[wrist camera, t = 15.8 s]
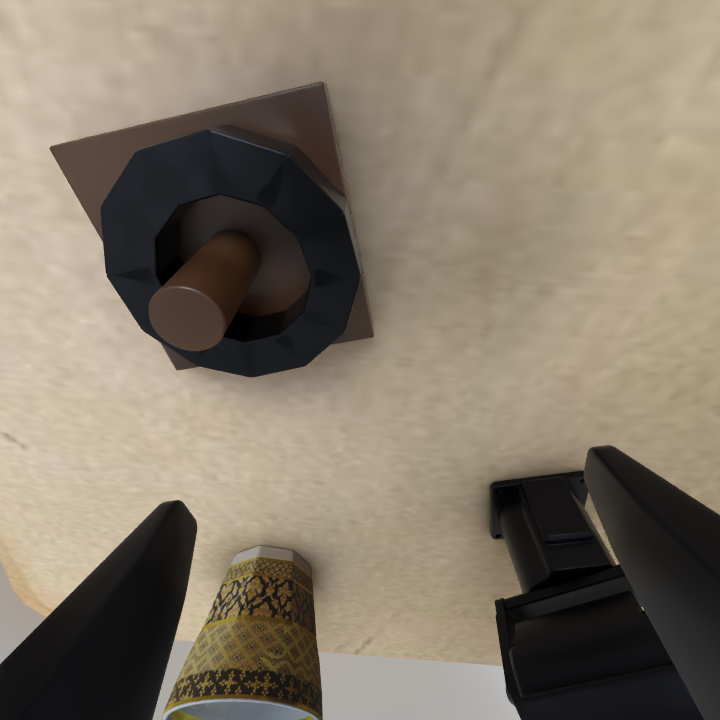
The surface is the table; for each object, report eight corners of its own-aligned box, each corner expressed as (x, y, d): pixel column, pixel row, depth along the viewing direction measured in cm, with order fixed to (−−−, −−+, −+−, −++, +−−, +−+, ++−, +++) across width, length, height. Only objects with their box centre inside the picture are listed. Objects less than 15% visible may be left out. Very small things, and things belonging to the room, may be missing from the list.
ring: (378, 324, 18) (380, 351, 16) (199, 364, 19) (182, 393, 17) (319, 95, 13) (314, 95, 11) (82, 168, 14) (41, 179, 12)
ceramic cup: (185, 555, 32) (125, 718, 23) (285, 519, 29) (258, 688, 21) (278, 616, 38) (257, 760, 30) (367, 591, 35) (371, 742, 27)
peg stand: (373, 322, 19) (380, 418, 14) (186, 354, 20) (121, 457, 15) (325, 82, 14) (305, 74, 8) (72, 142, 15) (-107, 173, 9)
